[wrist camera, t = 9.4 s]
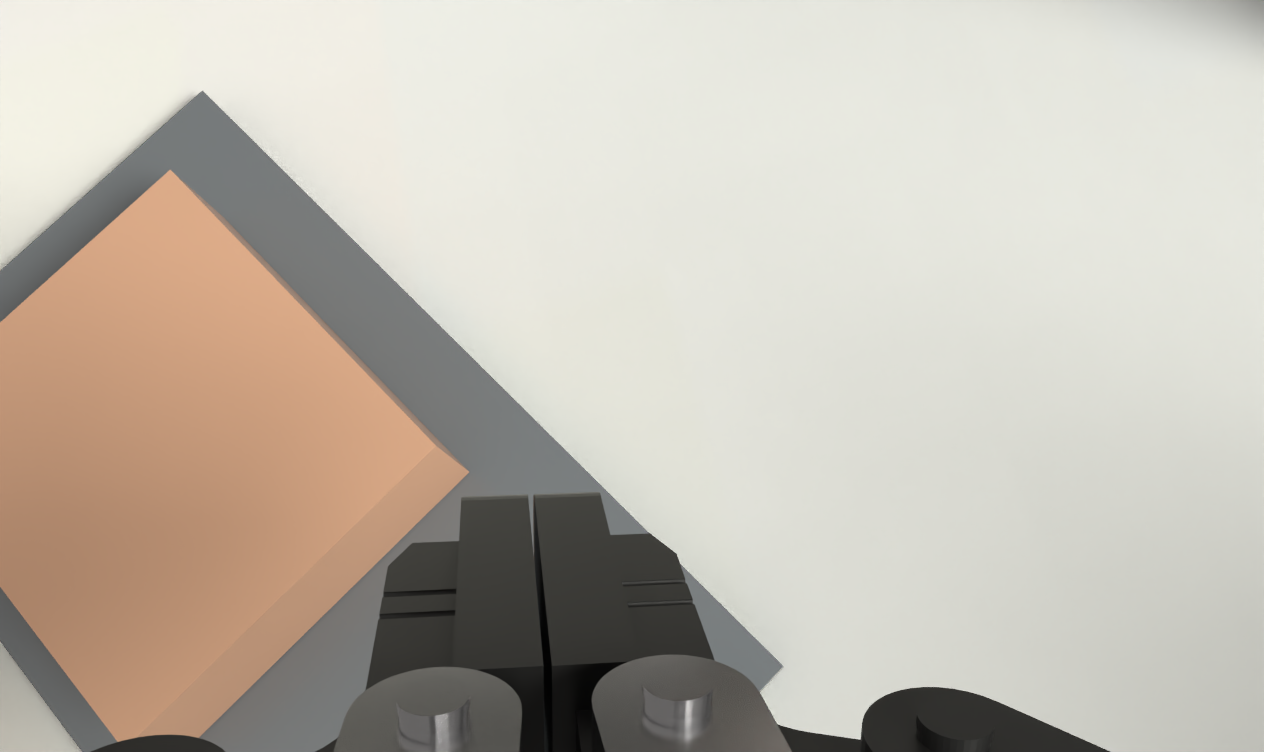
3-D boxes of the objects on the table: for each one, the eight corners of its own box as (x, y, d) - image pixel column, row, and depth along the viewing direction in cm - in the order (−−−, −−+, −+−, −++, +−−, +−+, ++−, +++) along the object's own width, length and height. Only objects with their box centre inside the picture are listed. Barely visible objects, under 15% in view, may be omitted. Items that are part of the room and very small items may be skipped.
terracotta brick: (436, 446, 25) (170, 169, 28) (123, 749, 24) (-119, 429, 27) (469, 472, 27) (224, 218, 30) (191, 746, 26) (-36, 456, 29)
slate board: (-142, 425, 31) (-166, 418, 30) (215, 105, 32) (202, 90, 32) (368, 1106, 24) (355, 1118, 24) (783, 667, 26) (783, 666, 25)
